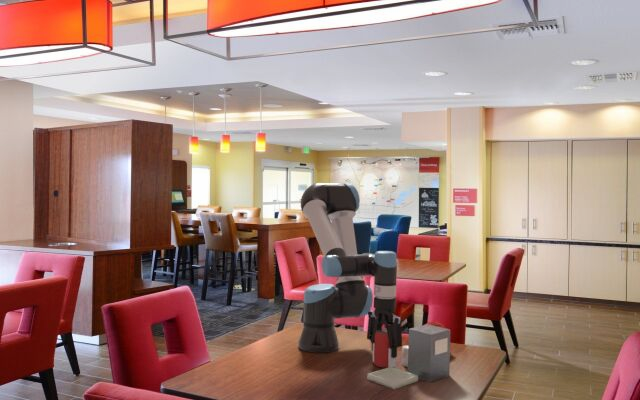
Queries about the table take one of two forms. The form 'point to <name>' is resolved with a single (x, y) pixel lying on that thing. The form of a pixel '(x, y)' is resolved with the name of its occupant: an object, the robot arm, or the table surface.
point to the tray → (392, 377)
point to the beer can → (381, 348)
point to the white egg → (405, 356)
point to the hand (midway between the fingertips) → (383, 363)
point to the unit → (429, 352)
